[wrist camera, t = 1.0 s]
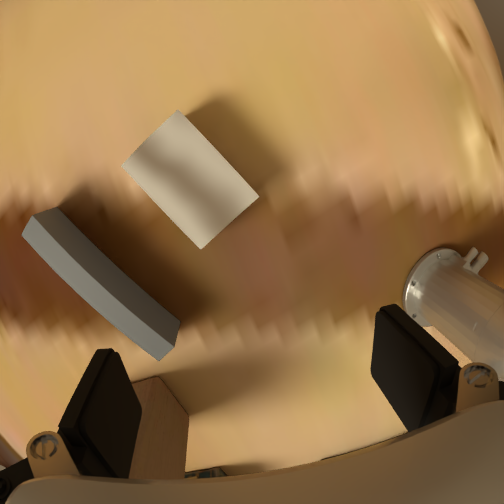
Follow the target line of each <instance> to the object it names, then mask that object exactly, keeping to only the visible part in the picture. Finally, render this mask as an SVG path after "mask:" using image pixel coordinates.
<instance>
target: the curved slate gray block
mask: <svg viewBox="0 0 504 504" xmlns="http://www.w3.org/2000/svg"><path fill="white" fill-rule="evenodd" d="M22 236H23V237H24V238H25V239H26V241H27V242H28V243H29V244H30V245H31V246H32V247H33V248H34V249H35V251H36V252H37V253H38V254H39V255H40V256H41V257H42V258H43V259H44V260H45V261H46V262H47V263H48V264H49V265H50V266H51V267H52V268H53V270H54V271H55V272H56V273H57V274H58V275H59V276H60V277H61V278H62V279H63V280H64V281H65V282H67V283H68V284H69V285H70V286H71V287H72V288H73V289H74V290H75V291H76V292H77V293H78V294H79V295H80V296H81V297H82V298H83V299H84V300H85V301H87V302H88V303H89V304H90V305H91V306H92V307H93V308H94V309H95V310H97V311H98V312H99V313H100V314H101V315H102V316H103V317H104V318H106V319H107V320H108V321H109V322H110V323H111V324H113V325H114V326H115V327H116V328H117V329H119V330H120V331H121V332H122V333H123V334H125V335H126V336H127V337H128V338H130V339H131V340H132V341H133V342H135V343H136V344H137V345H138V346H140V347H141V348H142V349H143V350H145V351H146V352H147V353H149V354H150V355H151V356H152V357H154V358H155V359H156V360H158V361H160V360H161V359H162V358H163V357H164V356H165V355H166V354H167V353H168V352H170V351H171V350H172V349H173V348H174V347H175V342H176V338H177V334H178V330H179V326H180V321H179V320H178V319H177V318H176V317H174V316H173V315H172V314H171V313H169V312H168V311H167V310H166V309H165V308H164V307H162V306H161V305H160V304H159V303H158V302H156V301H155V300H154V299H153V298H152V297H151V296H149V295H148V294H147V293H146V292H145V291H144V290H143V289H141V288H140V287H139V286H138V285H137V284H136V283H135V282H134V281H132V280H131V279H130V278H129V277H128V276H127V275H126V274H125V273H124V272H123V271H121V270H120V269H119V268H118V267H117V266H116V265H115V264H114V263H113V262H112V261H111V260H110V259H109V258H108V257H106V256H105V255H104V254H103V253H102V252H101V251H100V250H99V249H98V248H97V247H96V246H95V245H94V244H93V243H92V242H91V241H90V240H89V239H88V238H87V237H86V236H85V235H84V234H83V233H82V232H81V231H80V230H79V229H78V228H77V227H76V226H75V225H74V224H73V223H72V222H71V221H70V220H69V219H68V218H67V217H66V216H65V215H64V214H63V213H62V212H61V210H60V209H59V208H58V207H55V208H52V209H49V210H46V211H43V212H40V213H37V214H35V215H32V217H31V218H30V220H29V222H28V224H27V225H26V227H25V229H24V231H23V233H22Z"/></svg>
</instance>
